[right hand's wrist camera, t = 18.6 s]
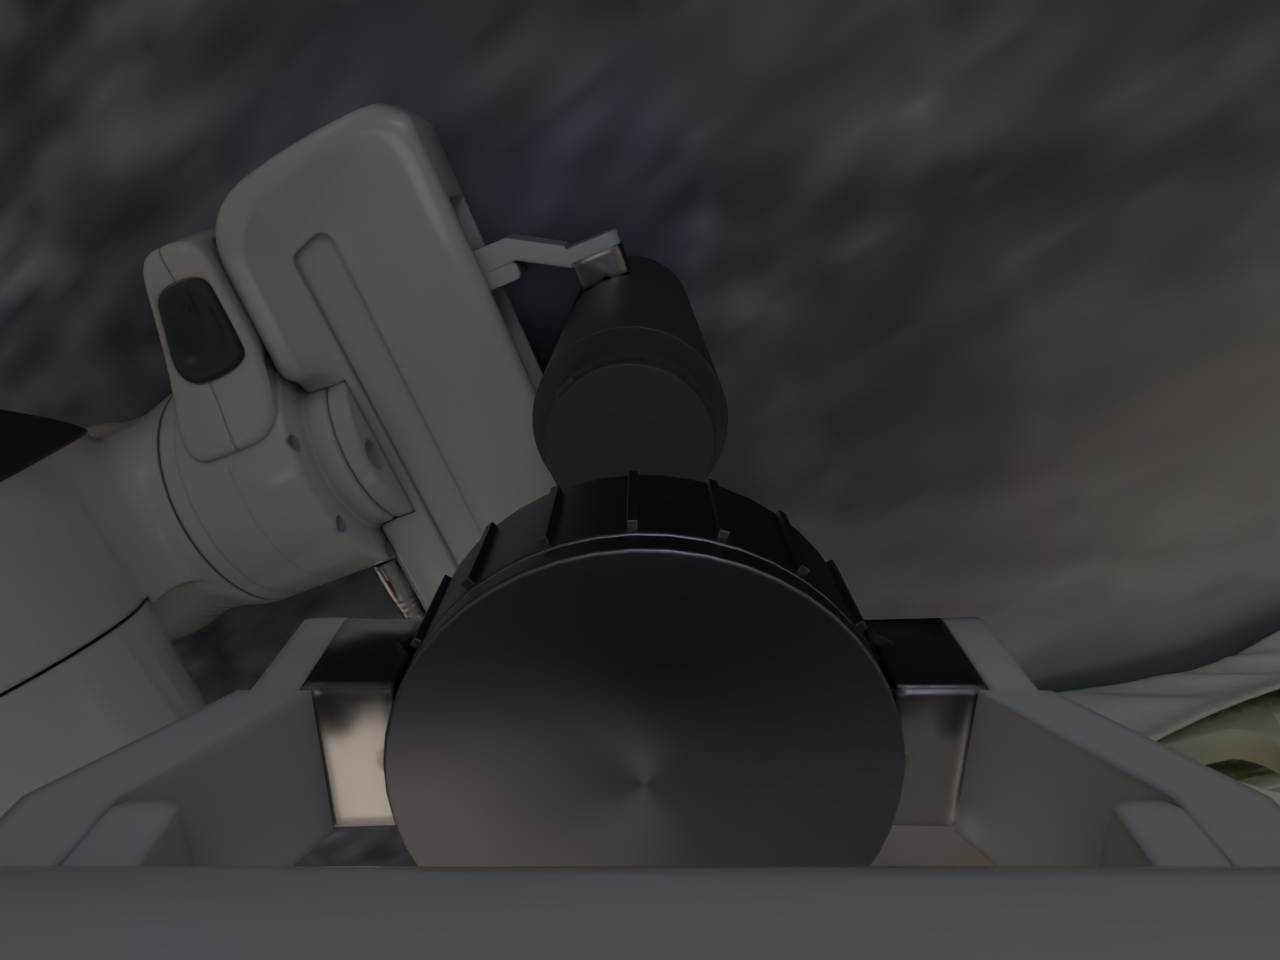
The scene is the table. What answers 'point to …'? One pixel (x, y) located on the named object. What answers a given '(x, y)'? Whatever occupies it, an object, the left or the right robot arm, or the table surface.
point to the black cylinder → (630, 385)
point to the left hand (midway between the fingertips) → (655, 329)
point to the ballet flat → (1208, 713)
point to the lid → (643, 693)
